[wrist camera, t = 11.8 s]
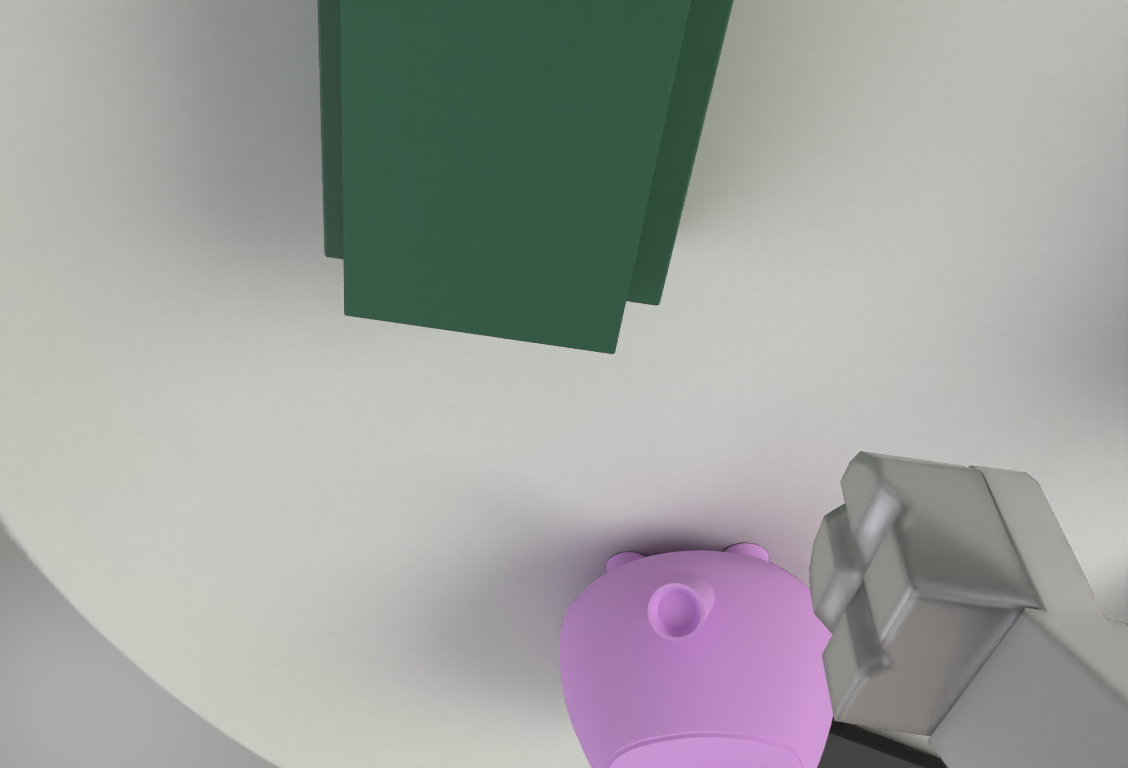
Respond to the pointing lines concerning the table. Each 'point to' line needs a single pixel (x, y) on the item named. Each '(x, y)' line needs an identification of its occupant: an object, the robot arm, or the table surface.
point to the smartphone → (870, 751)
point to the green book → (501, 160)
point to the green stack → (672, 159)
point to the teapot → (696, 663)
